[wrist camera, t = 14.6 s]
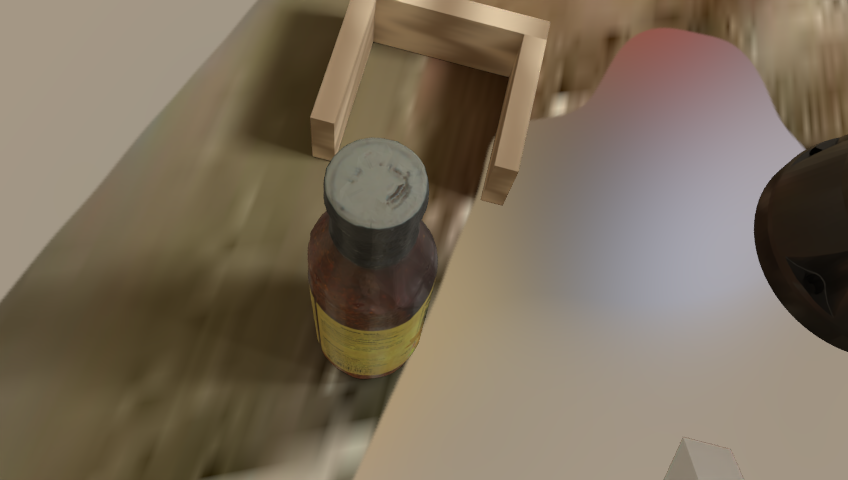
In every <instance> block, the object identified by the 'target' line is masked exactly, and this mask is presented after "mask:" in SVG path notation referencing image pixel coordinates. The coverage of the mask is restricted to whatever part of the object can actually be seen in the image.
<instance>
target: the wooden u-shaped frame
mask: <svg viewBox="0 0 848 480" xmlns="http://www.w3.org/2000/svg"><path fill="white" fill-rule="evenodd" d="M549 27H550V22H549V21H545V20H541V19H537V18H534V17H530V16H526V15H522V14H518V13H515V12H511V11H507V10H503V9H499V8H495V7H492V6H488V5H484V4H480V3H476V2H473V1H469V0H350V3H349V6H348V9H347V12H346V15H345V18H344V20H343V23H342V26H341V29H340V32H339V35H338V38H337V41H336V44H335V47H334V50H333V52H332V55H331V58H330V61H329V64H328V67H327V70H326V73H325V76H324V79H323V82H322V84H321V87H320V90H319V93H318V96H317V99H316V102H315V105H314V108H313V111H312V113H311V116H310V122H311V137H312V152H313V156H314V157H318V158H321V159H325V160H329V161H331V160H332V158H333V157H334V155H335V154H336V153H338V150H339V147H340V144H341V141H342V138H343V135H344V131H345V128H346V125H347V122H348V119H349V116H350V113H351V110H352V107H353V103H354V100H355V97H356V94H357V91H358V88H359V85H360V82H361V78H362V75H363V72H364V69H365V66H366V63H367V60H368V57H369V54H370V50H371V47H372V44H373V42H376V43H380V44H384V45H387V46H391V47H395V48H399V49H403V50H407V51H410V52H414V53H418V54H422V55H426V56H430V57H433V58H437V59H441V60H445V61H449V62H453V63H456V64H460V65H464V66H468V67H472V68H476V69H479V70H483V71H487V72H491V73H495V74H498V75H502V76H506V77H509V80H508V84H507V89H506V93H505V97H504V101H503V106H502V110H501V114H500V119H499V123H498V127H497V132H496V136H495V140H494V145H493V149H492V153H491V157H490V162H489V166H488V170H487V175H486V179H485V183H484V188H483V192H482V197H481V200H483V201H486V202H491V203H494V204H498V205H503V204H504V201H505V199H506V197H507V195H508V193H509V191H510V189H511V187H512V184H513V182H514V180H515V178H516V176H517V174H518V172H519V167H520V162H521V158H522V153H523V148H524V144H525V139H526V134H527V130H528V125H529V120H530V116H531V111H532V106H533V102H534V97H535V92H536V88H537V83H538V78H539V74H540V69H541V64H542V60H543V55H544V50H545V46H546V41H547V36H548V32H549Z"/></svg>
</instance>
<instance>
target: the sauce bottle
mask: <svg viewBox="0 0 848 480" xmlns="http://www.w3.org/2000/svg"><path fill="white" fill-rule="evenodd" d="M428 196H429V183H428V176H427V173H426V169H425V166H424V165H423V163H422V161H421V160H420V158H419V157H418V156H417V155H416V154H415V153H414V152H413V151H412V150H410V149H409V148H407V147H406V146H404V145H402V144H400V143H399V142H397V141H393V140H388V139H383V138H366V139H361V140H357V141H354V142H352V143H350V144H348V145H346V146H345V147H343V148H342V149H341V150H340V151H339V152H338V153H336V154H335V155H334V157H333V158H332V160H331V161H330V163H329V165H328V166H327V168H326V173H325V177H324V204H325V206H326V210H327V211H326V212H325V213H324V214H322V216H321V217H320V218H319V219H318V221H317V223H316V224H315V225H314V228H313V230H312V231H311V233H310V236H311V237H310V241H309V244H308V281H309V288H310V295H311V301H312V308H313V314H314V320H315V326H316V333H317V338H318V342H319V343H321V347H322V351H323V353H324V355H325V356H326V357H327V359H328V360H329V361H330V362H331V363H332V364H333V365H334V366H335V367H336V368H337V369H339V370H341V371H343V372H345V373H347V374H348V375H351V376H352V377H355V378H359V379H370V378H379V377H383V376H386V375H389V374H391V373H394V372H395V371H396V370H397V369H399V368H400V367H402V365H403V364H404V363H405V361H406V360H407V359H408V358H409V357H410V356H411V355H412V353H413V352H414V350H415V348H416V347H417V345H418V343H419V339H420V336H421V332H422V328H423V324H424V321H425V318H426V313H427V309H428V306H429V302H430V299H431V294H432V291H433V287H434V283H435V279H436V274H437V268H438V255H437V248H436V245H435V242H434V239H433V236H432V234H431V232H430V231H429V229H428V228H427V226H426V225H425V224H424V223H423V221H422V217H423V215H424V213H425V211H426V208H427V205H428V199H429V197H428Z"/></svg>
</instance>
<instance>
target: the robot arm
mask: <svg viewBox="0 0 848 480" xmlns="http://www.w3.org/2000/svg"><path fill="white" fill-rule="evenodd" d="M754 238H755V245H756V251H757V255H758V259H759V262H760V265H761V268H762V270H763V272H764V275H765V277H766V279H767V281H768V283H769V285H770V286H771V288H772V290H773V292H774V293H775V295H776V296H777V298H778V299H779V300H780V302H781V303H782V304H783V306H784V307H785V308H786V309H787V310H788V311H789V313H790V314H791V315H792V316H793V317H794V318H795V319H796V320H797V321H798V322H800V323H801V324H802V325H803V326H804V327H805V328H807V329H808V330H809V331H810V332H812V333H813V334H815V335H816V336H818V337H819V338H821V339H822V340H824V341H826V342H827V343H829V344H831V345H833V346H835V347H837V348H839V349H841V350H844V351H847V352H848V135H845V136H842V137H840V138H835V139H831V140H828V141H825V142H822V143H819V144H816V145H814V146H812V147H810V148H808V149H807V150H805V151H803V152H802V153H800V154H799V155H797V156H796V157H795V158H793V159H792V160H791V161H790V162H789V163H788V164H786V165H785V166H784V167H783V168H782V169H781V170H779V172H777V173H776V174H775V175H774V176H773V177H772V179H771V180H770V181H769V182H768V184H767V185H766V187H765V188H764V190H763V192H762V194H761V197H760V199H759V202H758V205H757V208H756V213H755V220H754ZM664 480H744V478H743V476H742V474H741V471H740V469H739V467H738V465H737V462H736V460H735V458H734V456H733V453H732V451H731V449H728V448H724V447H720V446H716V445H713V444H709V443H705V442H701V441H697V440H693V439H690V438H686V437H683V438H682V441H681V443H680V445H679V447H678V449H677V452H676V454H675V456H674V458H673V460H672V463H671V465H670V467H669V469H668V471H667V474H666V476H665V478H664Z"/></svg>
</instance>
